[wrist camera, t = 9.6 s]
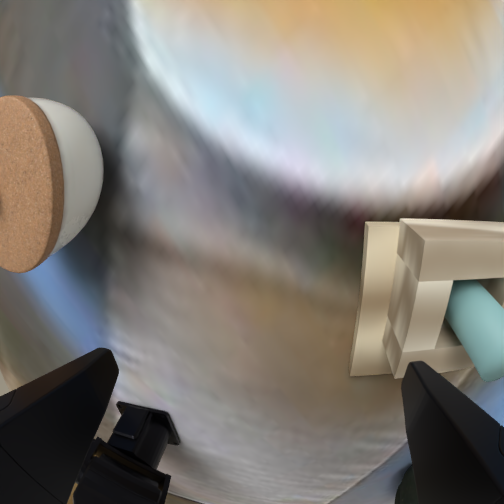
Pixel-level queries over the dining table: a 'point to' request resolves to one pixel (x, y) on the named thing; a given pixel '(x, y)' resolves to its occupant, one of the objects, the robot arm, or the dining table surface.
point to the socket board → (420, 291)
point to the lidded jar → (44, 179)
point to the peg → (478, 326)
